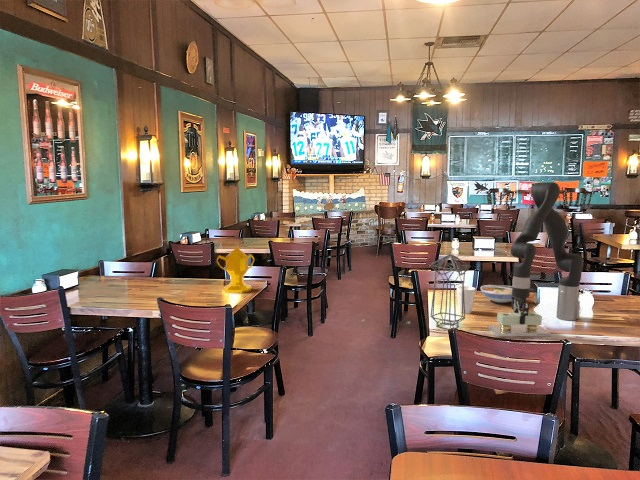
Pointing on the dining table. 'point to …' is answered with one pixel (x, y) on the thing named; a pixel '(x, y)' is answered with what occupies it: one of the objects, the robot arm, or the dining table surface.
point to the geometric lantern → (450, 287)
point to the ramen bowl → (497, 293)
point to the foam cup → (466, 298)
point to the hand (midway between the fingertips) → (519, 321)
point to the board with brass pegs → (518, 330)
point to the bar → (518, 319)
